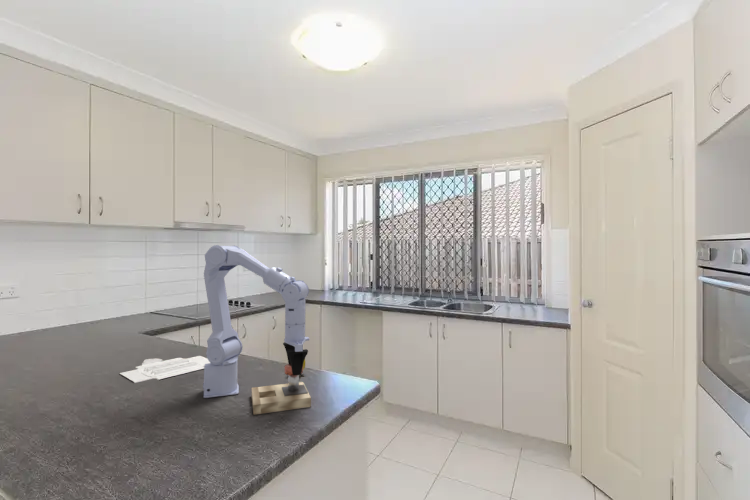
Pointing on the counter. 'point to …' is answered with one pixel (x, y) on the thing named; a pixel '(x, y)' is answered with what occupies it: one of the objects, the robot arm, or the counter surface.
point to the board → (279, 398)
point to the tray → (165, 368)
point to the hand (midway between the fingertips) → (294, 370)
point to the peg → (292, 378)
